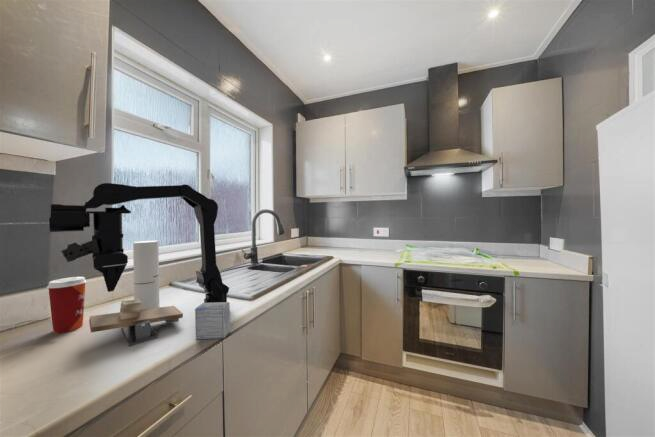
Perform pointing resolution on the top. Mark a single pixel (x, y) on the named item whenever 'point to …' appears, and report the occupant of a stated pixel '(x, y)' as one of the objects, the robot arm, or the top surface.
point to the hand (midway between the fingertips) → (109, 287)
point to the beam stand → (139, 333)
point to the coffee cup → (67, 303)
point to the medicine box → (212, 320)
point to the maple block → (130, 309)
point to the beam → (152, 315)
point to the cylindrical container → (146, 273)
